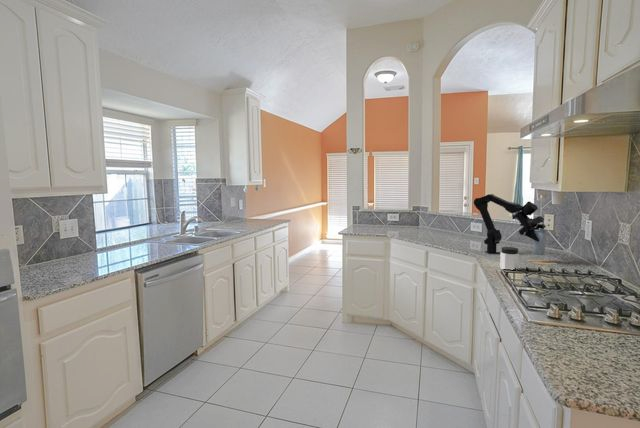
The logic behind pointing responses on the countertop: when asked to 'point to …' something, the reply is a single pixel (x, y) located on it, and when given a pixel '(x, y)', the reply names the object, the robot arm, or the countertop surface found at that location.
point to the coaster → (541, 261)
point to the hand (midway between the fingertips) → (541, 240)
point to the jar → (509, 258)
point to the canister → (539, 242)
